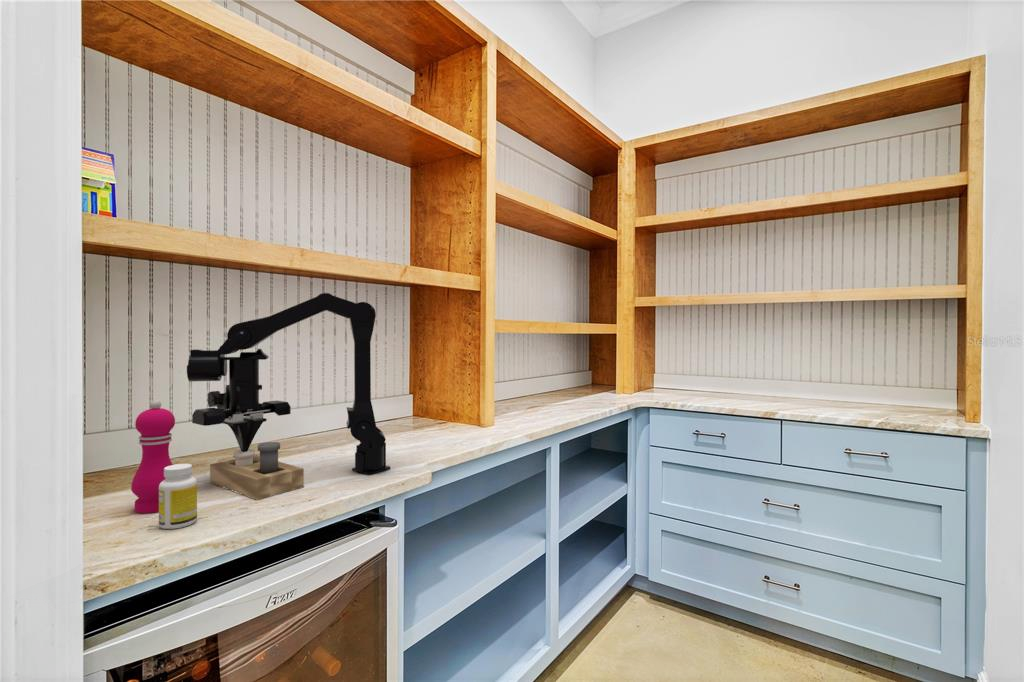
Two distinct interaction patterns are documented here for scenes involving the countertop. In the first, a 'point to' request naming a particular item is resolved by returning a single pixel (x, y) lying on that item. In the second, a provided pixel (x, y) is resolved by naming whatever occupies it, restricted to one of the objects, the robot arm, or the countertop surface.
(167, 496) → the supplement bottle
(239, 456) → the white plug
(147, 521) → the countertop surface
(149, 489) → the pepper mill
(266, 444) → the charcoal plug
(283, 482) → the oak socket block
